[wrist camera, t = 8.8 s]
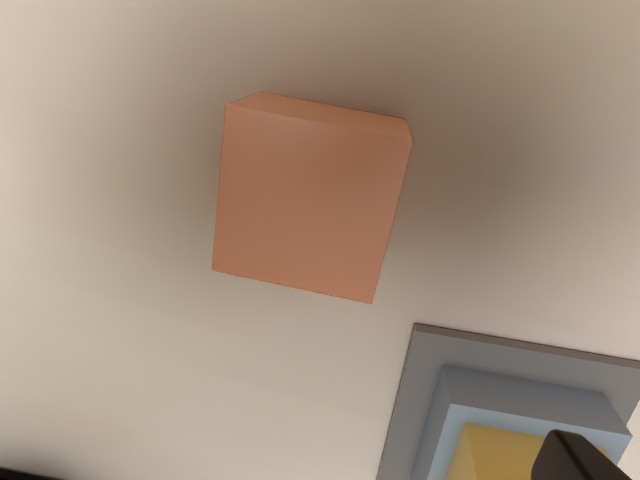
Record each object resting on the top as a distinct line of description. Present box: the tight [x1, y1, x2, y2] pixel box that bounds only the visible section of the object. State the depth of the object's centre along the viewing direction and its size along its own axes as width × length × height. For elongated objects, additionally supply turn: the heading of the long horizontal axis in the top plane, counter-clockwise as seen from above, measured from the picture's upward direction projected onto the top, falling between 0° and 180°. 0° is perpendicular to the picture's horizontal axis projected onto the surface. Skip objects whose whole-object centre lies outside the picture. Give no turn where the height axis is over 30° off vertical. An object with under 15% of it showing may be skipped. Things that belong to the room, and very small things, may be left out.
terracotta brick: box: [212, 92, 413, 304], centre depth 16 cm, size 6×6×4 cm
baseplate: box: [376, 323, 640, 480], centre depth 20 cm, size 10×10×3 cm
